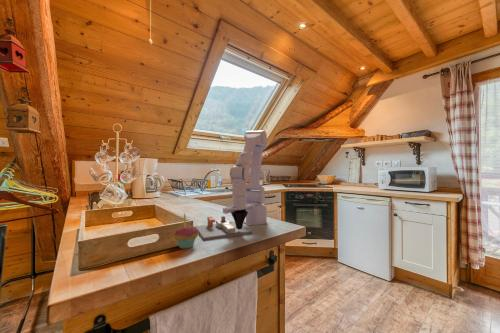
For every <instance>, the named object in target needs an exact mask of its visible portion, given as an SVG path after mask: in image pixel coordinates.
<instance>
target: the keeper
mask: <svg viewBox="0 0 500 333" xmlns="http://www.w3.org/2000/svg"><path fill="white" fill-rule="evenodd" d="M206 219H207V225H208V227H210V226H213V224H214V223H216V219H215V218H214V217H213V216H212V215H210V216H207V218H206Z"/></svg>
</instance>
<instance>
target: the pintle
mask: <svg viewBox="0 0 500 333" xmlns="http://www.w3.org/2000/svg"><path fill="white" fill-rule="evenodd" d="M220 220H221V222H225V220H226V216H225V215H224V216H223V215H222V216H221V219H220Z"/></svg>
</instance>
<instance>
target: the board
mask: <svg viewBox="0 0 500 333" xmlns="http://www.w3.org/2000/svg"><path fill="white" fill-rule="evenodd" d="M230 222H231V225H232V226H234V227H235V233H231V234H228V233H227V232H226V231H224V230H223V229H222V228H219V227H218V226H216V223H213V226H210V227H208V224H204V225H203V224H202V225H195V226H194V227H196V228H197V229H198V235H199V236H200V237H201V239H203V241H209V240H216V239H222V238H229V237H230V238H231V237H237V236H243V235H252V234H253V232H254V231H253V230H252V229H251V228H249V227H247V226H245V225H244V224H243V226H242V229H240V230H239V229H237V228H236V224H235V221H230Z"/></svg>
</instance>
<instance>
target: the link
mask: <svg viewBox="0 0 500 333" xmlns="http://www.w3.org/2000/svg"><path fill="white" fill-rule="evenodd" d="M231 222H232V221H230V220H228V219H226V218H225V222H221V219H216V220H215V224H216V226H218V227H219V228H222V229H223V230H224V231H226V232H227V233H228V234H231V233H235V227H234V226H232V225H231Z"/></svg>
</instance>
